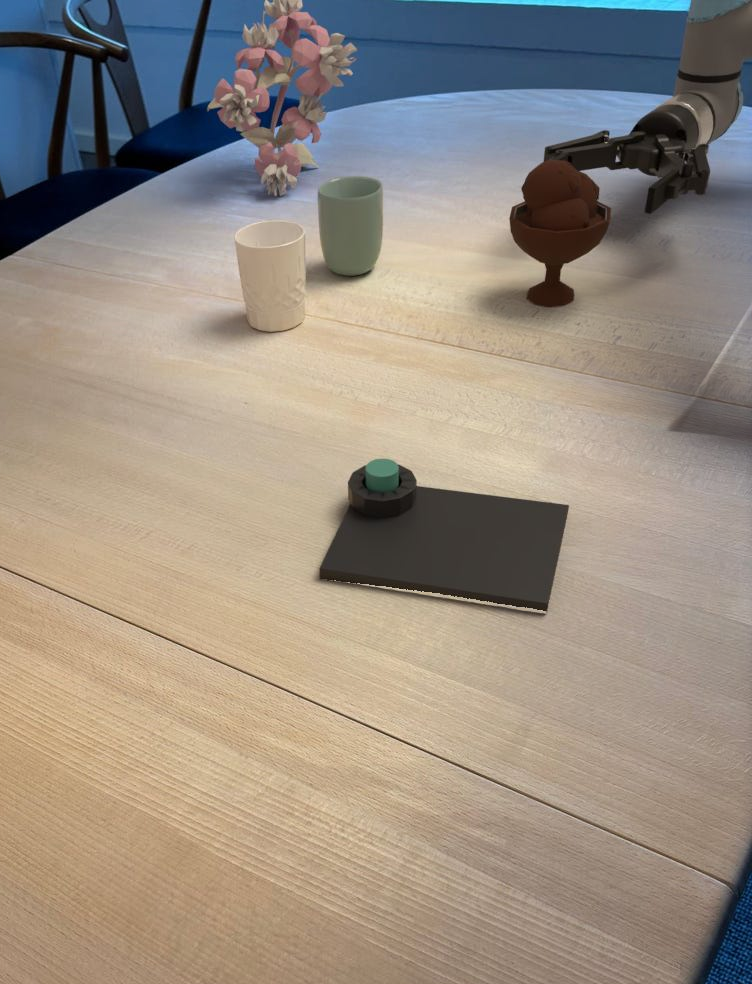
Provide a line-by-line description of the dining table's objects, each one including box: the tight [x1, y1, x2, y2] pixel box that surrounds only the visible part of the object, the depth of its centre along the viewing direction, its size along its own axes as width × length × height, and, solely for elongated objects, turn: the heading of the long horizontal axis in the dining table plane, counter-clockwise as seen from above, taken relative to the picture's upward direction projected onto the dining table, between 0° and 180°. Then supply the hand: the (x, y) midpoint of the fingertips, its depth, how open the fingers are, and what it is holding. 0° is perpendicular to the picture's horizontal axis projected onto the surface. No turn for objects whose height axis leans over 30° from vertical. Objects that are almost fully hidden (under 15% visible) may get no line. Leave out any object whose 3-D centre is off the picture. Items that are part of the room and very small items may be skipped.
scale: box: [319, 464, 570, 612], centre depth 80 cm, size 18×13×3 cm
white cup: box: [233, 219, 307, 333], centre depth 111 cm, size 8×8×10 cm
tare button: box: [365, 458, 399, 493], centre depth 83 cm, size 3×3×2 cm
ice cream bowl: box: [509, 160, 612, 308], centre depth 108 cm, size 11×11×15 cm
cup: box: [317, 175, 384, 277], centre depth 120 cm, size 8×8×10 cm
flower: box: [206, 0, 358, 197], centre depth 144 cm, size 20×22×25 cm
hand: (592, 191), depth 111 cm, fingers open, 13 cm apart
